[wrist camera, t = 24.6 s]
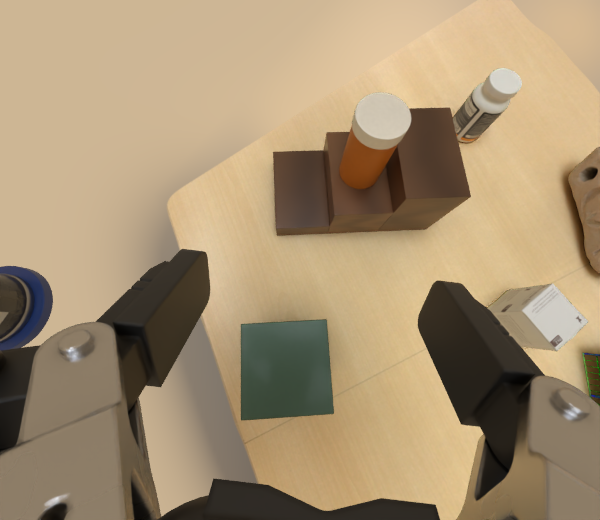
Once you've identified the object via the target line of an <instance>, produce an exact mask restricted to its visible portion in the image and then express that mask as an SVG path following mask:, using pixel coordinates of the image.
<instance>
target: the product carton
mask: <svg viewBox="0 0 600 520" xmlns="http://www.w3.org/2000/svg"><path fill="white" fill-rule="evenodd" d="M487 309H489V310H490V311H491V312H492V313H493V314H494V316H495V317H496V318H497V319H498V320H499V322H500V325H503V326H504V328H505V329H506V330H507V331H508V332H509V336H512V337H513V338H514V339H515V341H516V342H517V343H518V344H519V345H520V347H526V348H535V349H543V350H552V351H558V350H559V349H560V348H561V347H562V346H563V345H565V344H566V343H567V342H568V341H569V340H571V339H572V338H573V337H574V336H575V335H576V334H577V333H578V332H579V331H580V330H581V329H582V328H583V327H584V326H585V325H586V324H587V323H588V321H587V320H586V318H584V316H583V315H582V314H581V313H580V312H579V311H578V310H577V309H576V308H575V307H574V306H573V305H572V304H571V303H570V302H569V301H568V299H567V298H566V297H565V296H564V295H563V294H562V293H561V292H560V291H559V289H558V288H557V287H556V286H555V285H554V284H547V285H540V286H533V287H526V288H518V289H512V290H508V291H506V292H505V293H504V294H503V295H502V296H501V297H500V298H499V299H498V300H496V301H495V302H494V303H493V304H492V305H490V306H489V307H488V308H487Z"/></svg>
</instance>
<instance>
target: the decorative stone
mask: <svg viewBox="0 0 600 520" xmlns="http://www.w3.org/2000/svg"><path fill="white" fill-rule="evenodd" d="M568 181H569V184H570V186H571V189H572V193H573V197H574V199H575V201H576V205H577V209H578V212H579V217H580V220H581V222H582V225H583V231H584V236H585V239H584V247H585V252H586V256H587V258H588V259H589V260H590V264H591V266H592V267H593V269H594V270H595V271H597V272H598V273H600V147H598V148H596V149H595V150H594V151H593V152H592V153H591V154H590V155H589V156H587V157H586V158H585V159H584V160H583V161H582V162H581V163H579V164H578V165H577V166H576V167H575V168H574V169H573V171H572V172H571V173H570V175H569V178H568Z"/></svg>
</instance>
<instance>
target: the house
mask: <svg viewBox="0 0 600 520" xmlns="http://www.w3.org/2000/svg"><path fill="white" fill-rule="evenodd" d="M584 354H586V355H596V358H597V361H596V362H597V365H598V362H599V361H598V357H597V356H600V354H589V353H583V359H584V365H585V370H586V376H587V382H588V388H589V394H590V398H591V396H592V397H596V398H600V396H598V395H591V393H590V391H592V390H590V387H589V381H588V375H587V369H586V364H585V358H584ZM588 361H591V360H588ZM589 367H592V366H589ZM596 368H599V365H598V367H596ZM589 373H592V372H589ZM596 374H598V373H596ZM599 376H600V368H599ZM590 379H592V378H590ZM595 380H598V379H595ZM590 385H592V384H590ZM595 386H597V385H595ZM594 392H596V391H594ZM599 393H600V392H599ZM591 399H592V398H591ZM599 405H600V404H599Z"/></svg>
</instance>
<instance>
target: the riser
mask: <svg viewBox="0 0 600 520" xmlns="http://www.w3.org/2000/svg"><path fill="white" fill-rule="evenodd" d="M409 110H410V113H411V124H410V127H409V129H408V130H407V132H406V134H405V135H404V137H403V139H402V140H401V141H400V143H399V144H398V145H397V147H396V149H395V151H394V152H393V154H392V156H391V157H390V159H389V161H388V163H387V164H386V166H385V168H384V169H383V171H382V173H381V175H380V176H379V178H378V180H377V181H376V183H375V184H374V185H372V186H371V187H369V188H366V189H355V188H352V187H350V186H348V185H347V184H346V183H345V182H344V181H343V180H342V178H341V176H340V173H339V167H340V163H341V160H342V157H343V153H344V150H345V147H346V143H347V140H348V137H349V133H350V132H328V133H327V134H326V139H325V145H324V150H323V151H289V152H273V158H274V188H275V217H276V232H277V235H298V234H322V233H346V232H370V231H394V230H418V229H427V228H428V227H430V226H431V225H432V224H434V223H435V222H436V221H438V220H439V219H441V218H442V217H443V216H445V215H446V214H447V213H449V212H450V211H452V210H453V209H454V208H456V207H457V206H459V205H460V204H461V203H463V202H464V201H465V200H467V199H468V198H470V197H471V195H470V190H469V186H468V182H467V178H466V173H465V169H464V165H463V161H462V156H461V152H460V148H459V144H458V139H457V135H456V131H455V127H454V122H453V118H452V114H451V110H450V108H417V109H409Z"/></svg>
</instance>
